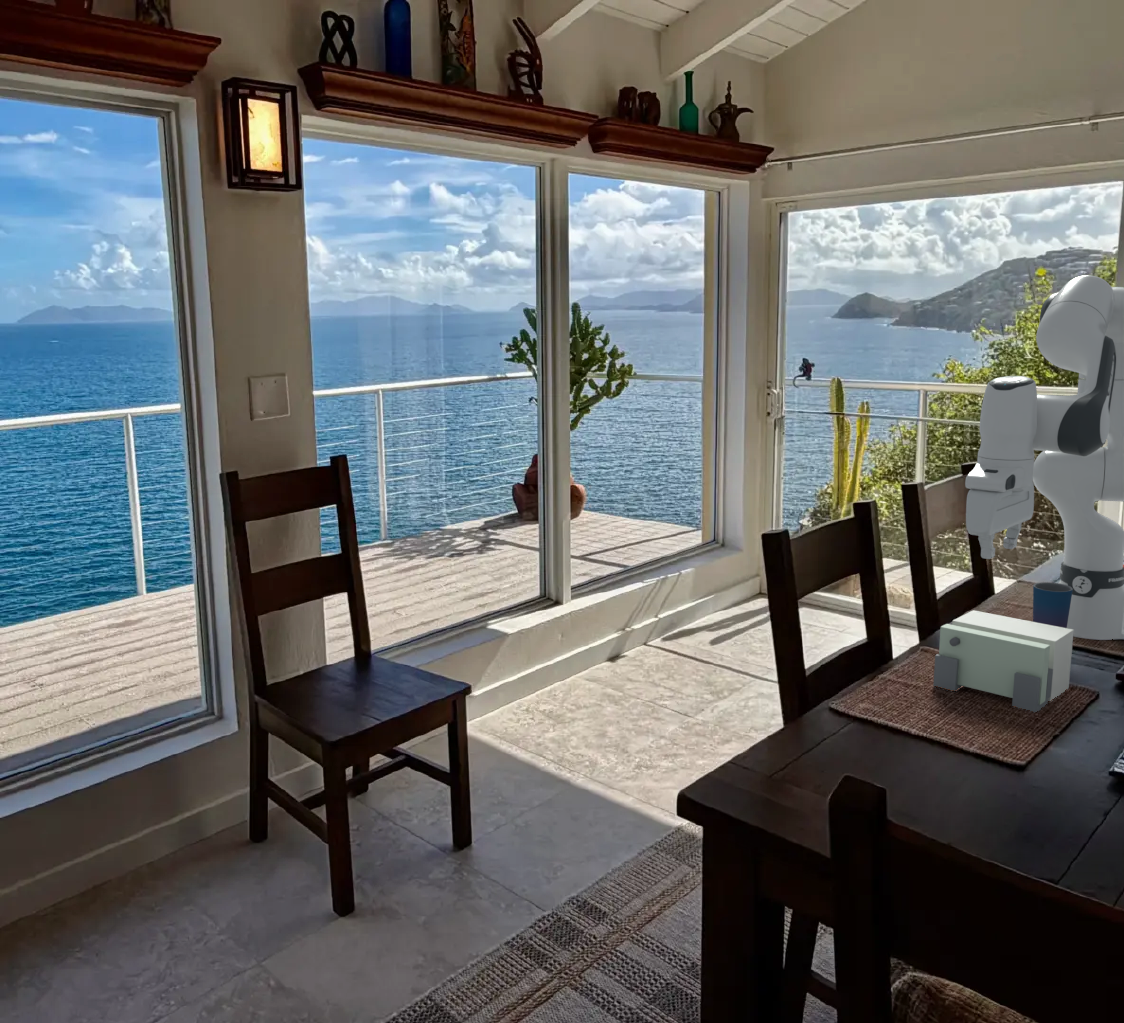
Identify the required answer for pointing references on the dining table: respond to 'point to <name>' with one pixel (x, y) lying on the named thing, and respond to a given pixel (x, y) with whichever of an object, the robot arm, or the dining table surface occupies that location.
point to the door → (994, 659)
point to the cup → (1051, 603)
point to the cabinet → (1024, 684)
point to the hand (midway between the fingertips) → (998, 553)
